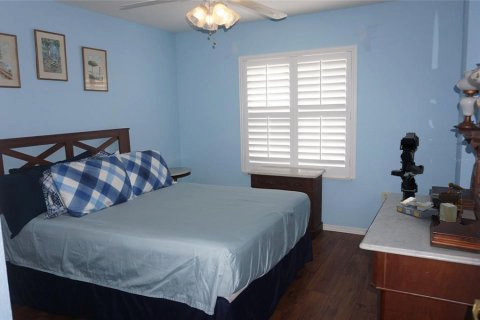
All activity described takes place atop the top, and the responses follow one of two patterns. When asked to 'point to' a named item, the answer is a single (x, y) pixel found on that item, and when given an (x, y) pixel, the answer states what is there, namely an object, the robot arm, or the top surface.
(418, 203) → the rocker middle
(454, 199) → the music box
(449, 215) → the skincare box
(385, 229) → the top surface
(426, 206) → the rocker right
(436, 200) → the electrical switch
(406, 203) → the rocker left
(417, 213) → the console
